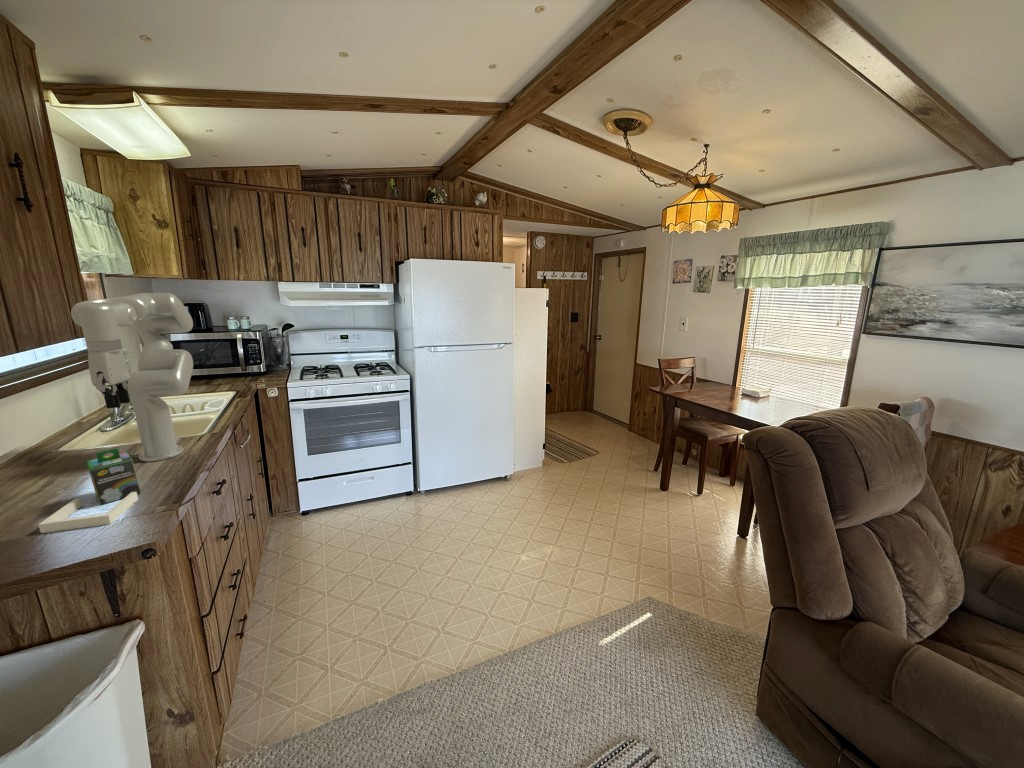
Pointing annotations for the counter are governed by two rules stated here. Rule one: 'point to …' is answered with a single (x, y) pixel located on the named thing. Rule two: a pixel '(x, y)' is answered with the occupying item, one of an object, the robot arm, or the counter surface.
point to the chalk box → (113, 476)
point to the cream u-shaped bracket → (60, 523)
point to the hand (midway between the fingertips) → (118, 404)
